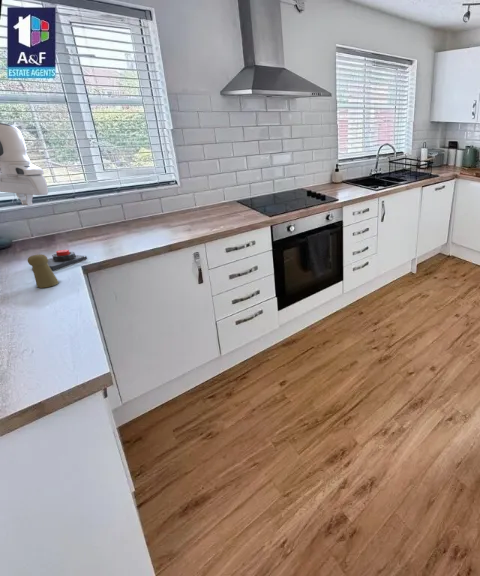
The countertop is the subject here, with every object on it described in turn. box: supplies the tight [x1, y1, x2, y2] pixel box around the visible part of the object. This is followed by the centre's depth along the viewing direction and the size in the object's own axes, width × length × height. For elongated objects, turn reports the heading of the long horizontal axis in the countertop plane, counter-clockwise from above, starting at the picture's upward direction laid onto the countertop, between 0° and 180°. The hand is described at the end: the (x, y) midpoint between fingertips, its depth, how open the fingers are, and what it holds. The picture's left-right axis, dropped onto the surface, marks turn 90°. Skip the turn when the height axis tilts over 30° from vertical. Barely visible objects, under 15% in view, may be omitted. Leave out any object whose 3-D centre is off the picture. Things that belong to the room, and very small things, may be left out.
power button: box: [55, 249, 71, 256], centre depth 149 cm, size 4×4×2 cm
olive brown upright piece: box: [27, 253, 60, 289], centre depth 130 cm, size 6×6×11 cm
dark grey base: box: [47, 251, 88, 272], centre depth 148 cm, size 14×10×5 cm
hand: (27, 205), depth 146 cm, fingers closed
